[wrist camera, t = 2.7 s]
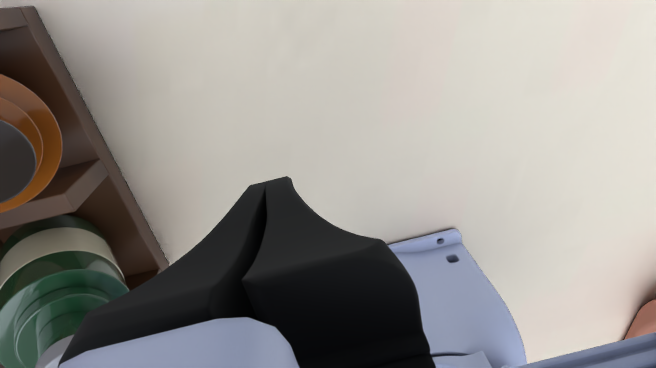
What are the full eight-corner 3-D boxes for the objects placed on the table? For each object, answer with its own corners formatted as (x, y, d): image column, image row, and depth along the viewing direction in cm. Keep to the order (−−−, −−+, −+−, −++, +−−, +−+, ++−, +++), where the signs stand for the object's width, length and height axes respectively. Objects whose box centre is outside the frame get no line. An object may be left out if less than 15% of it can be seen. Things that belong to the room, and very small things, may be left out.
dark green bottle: (82, 198, 22) (119, 285, 14) (124, 267, 24) (176, 376, 16) (-27, 244, 19) (-59, 382, 11) (31, 316, 22) (38, 472, 14)
